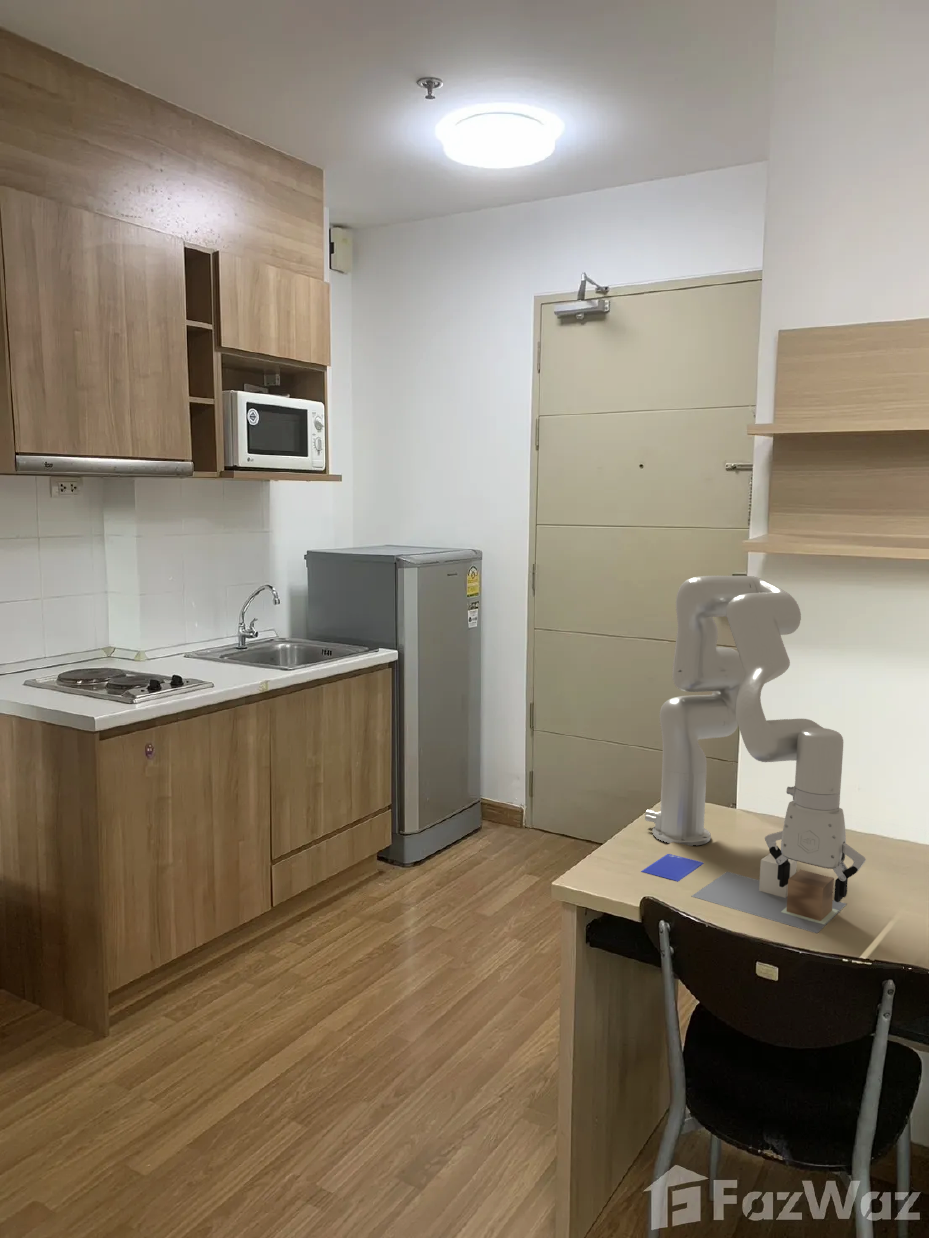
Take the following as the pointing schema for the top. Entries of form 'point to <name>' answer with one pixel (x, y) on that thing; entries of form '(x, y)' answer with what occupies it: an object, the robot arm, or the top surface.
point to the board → (759, 901)
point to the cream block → (773, 876)
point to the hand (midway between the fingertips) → (810, 892)
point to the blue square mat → (672, 867)
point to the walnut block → (810, 895)
